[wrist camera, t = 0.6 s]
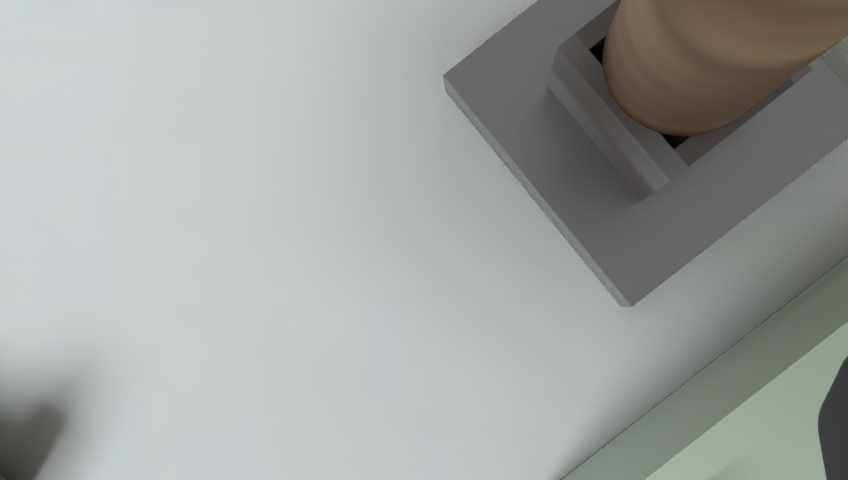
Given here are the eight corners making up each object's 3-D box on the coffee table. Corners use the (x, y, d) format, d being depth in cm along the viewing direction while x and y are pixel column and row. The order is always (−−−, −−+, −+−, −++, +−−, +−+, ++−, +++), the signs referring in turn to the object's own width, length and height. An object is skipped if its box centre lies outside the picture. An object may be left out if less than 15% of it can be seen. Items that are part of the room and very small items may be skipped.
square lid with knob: (846, 130, 21) (937, 86, 17) (621, 306, 21) (655, 306, 17) (660, -79, 22) (702, -170, 18) (446, 91, 22) (436, 40, 18)
